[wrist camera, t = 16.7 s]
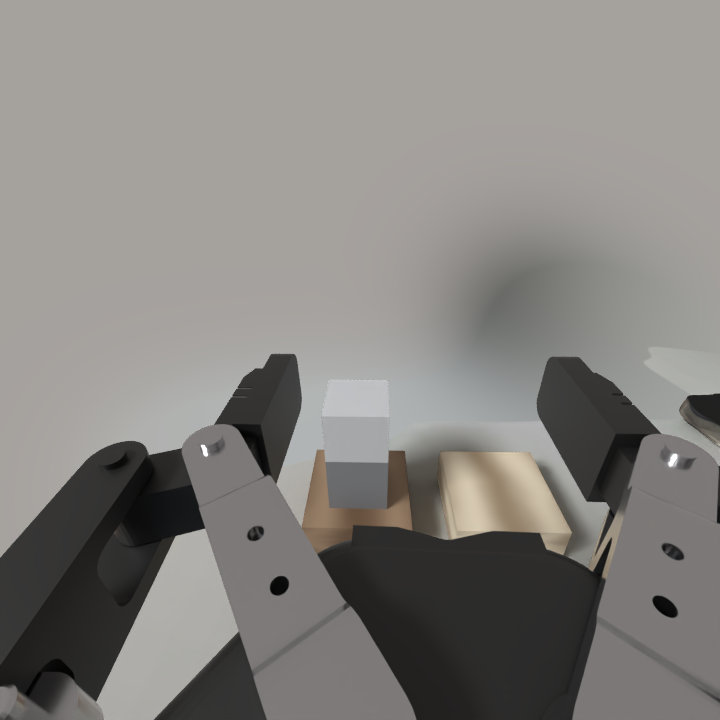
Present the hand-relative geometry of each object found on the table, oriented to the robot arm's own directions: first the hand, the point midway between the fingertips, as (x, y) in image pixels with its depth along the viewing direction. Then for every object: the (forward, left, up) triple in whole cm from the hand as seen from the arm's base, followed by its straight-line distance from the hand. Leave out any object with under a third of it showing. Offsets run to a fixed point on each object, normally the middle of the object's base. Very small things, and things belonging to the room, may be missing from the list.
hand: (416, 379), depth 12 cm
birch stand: (-11, -16, -27) cm, 33 cm away
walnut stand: (+3, -16, -27) cm, 32 cm away
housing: (+3, -16, -23) cm, 28 cm away
